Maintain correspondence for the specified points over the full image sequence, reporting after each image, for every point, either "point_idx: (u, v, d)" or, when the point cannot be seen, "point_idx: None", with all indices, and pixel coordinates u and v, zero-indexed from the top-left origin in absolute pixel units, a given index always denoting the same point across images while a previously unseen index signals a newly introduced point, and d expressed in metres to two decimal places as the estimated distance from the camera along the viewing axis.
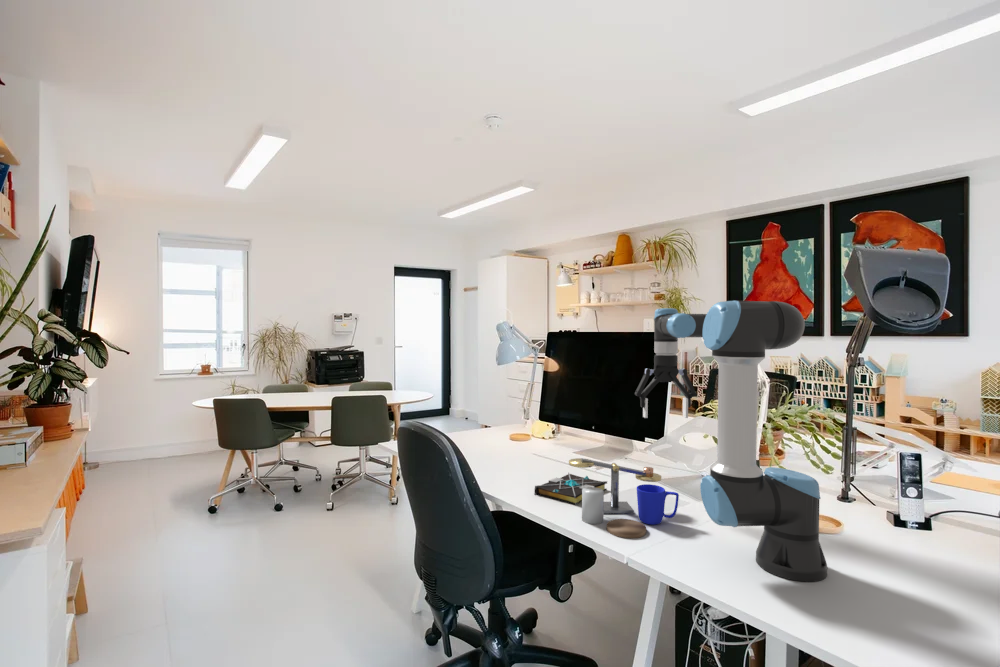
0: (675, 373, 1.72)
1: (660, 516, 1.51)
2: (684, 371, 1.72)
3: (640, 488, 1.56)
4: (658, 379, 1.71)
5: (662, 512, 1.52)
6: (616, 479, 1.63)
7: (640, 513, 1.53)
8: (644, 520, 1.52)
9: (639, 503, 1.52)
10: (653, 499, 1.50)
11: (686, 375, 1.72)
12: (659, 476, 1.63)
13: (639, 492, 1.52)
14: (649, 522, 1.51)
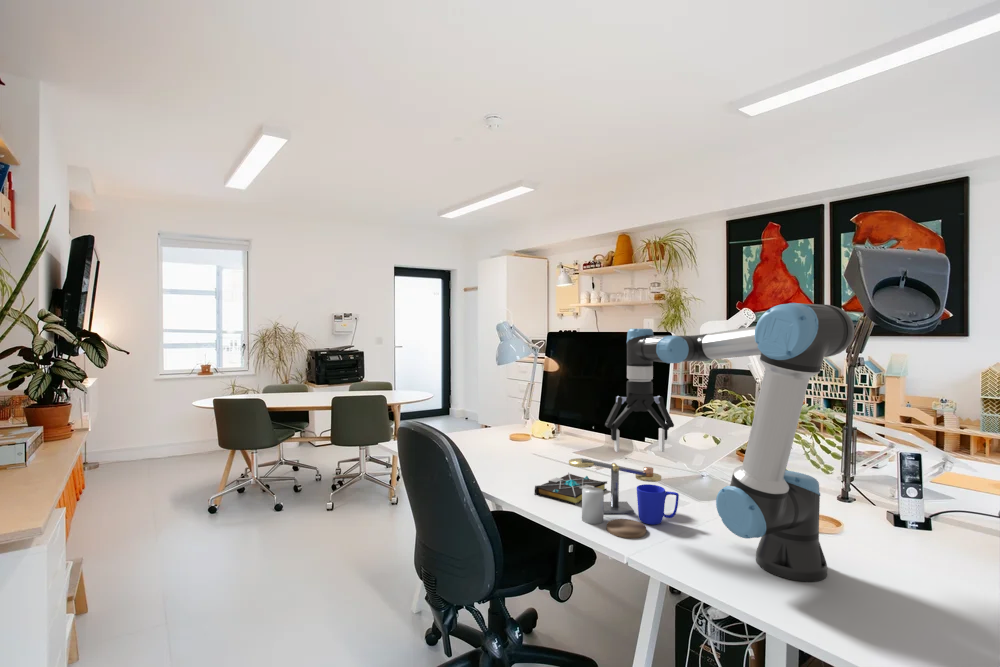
0: (650, 401, 1.52)
1: (660, 516, 1.51)
2: (660, 399, 1.52)
3: (640, 488, 1.56)
4: (631, 408, 1.51)
5: (662, 512, 1.52)
6: (616, 479, 1.63)
7: (640, 513, 1.53)
8: (644, 520, 1.52)
9: (639, 503, 1.52)
10: (653, 499, 1.50)
11: (662, 403, 1.52)
12: (659, 476, 1.63)
13: (639, 492, 1.52)
14: (649, 522, 1.51)
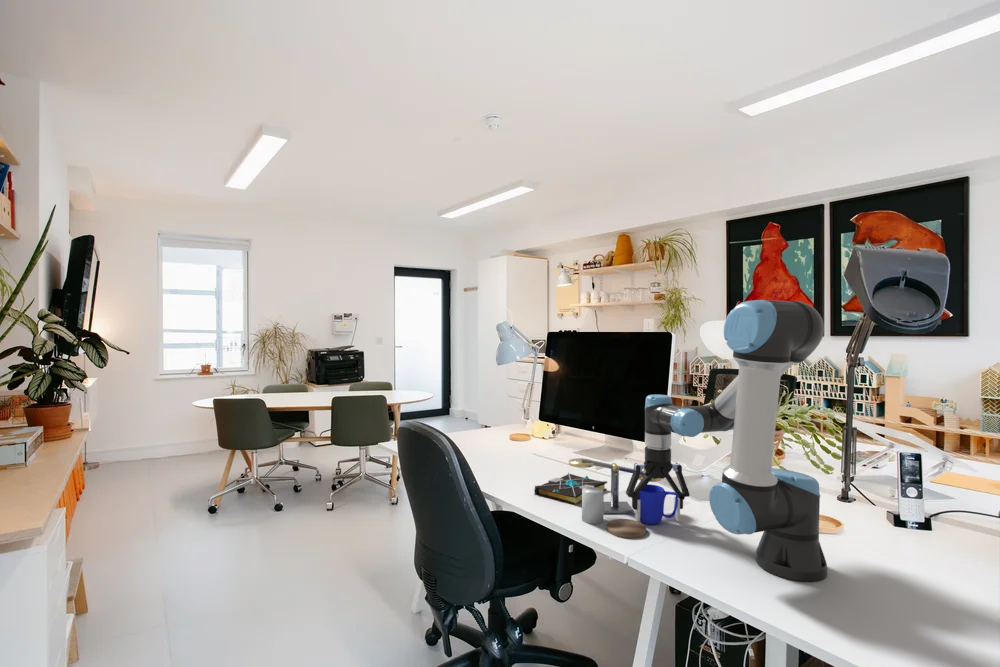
0: (668, 469, 1.52)
1: (659, 516, 1.51)
2: (678, 467, 1.52)
3: None
4: (650, 476, 1.51)
5: (661, 512, 1.52)
6: (616, 479, 1.63)
7: None
8: (643, 520, 1.52)
9: None
10: (652, 499, 1.50)
11: (680, 472, 1.52)
12: None
13: (639, 492, 1.52)
14: (648, 522, 1.51)
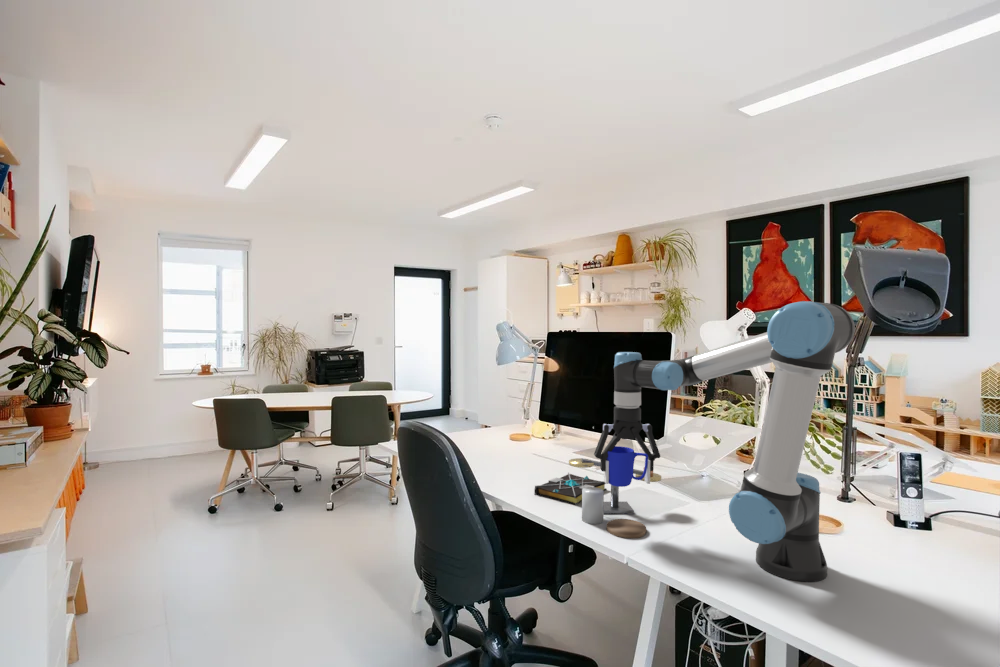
0: (638, 428, 1.46)
1: (628, 478, 1.45)
2: (649, 427, 1.46)
3: None
4: (619, 437, 1.45)
5: (631, 474, 1.45)
6: None
7: None
8: (612, 482, 1.45)
9: None
10: (621, 460, 1.43)
11: (650, 432, 1.46)
12: (659, 476, 1.63)
13: None
14: (617, 484, 1.44)
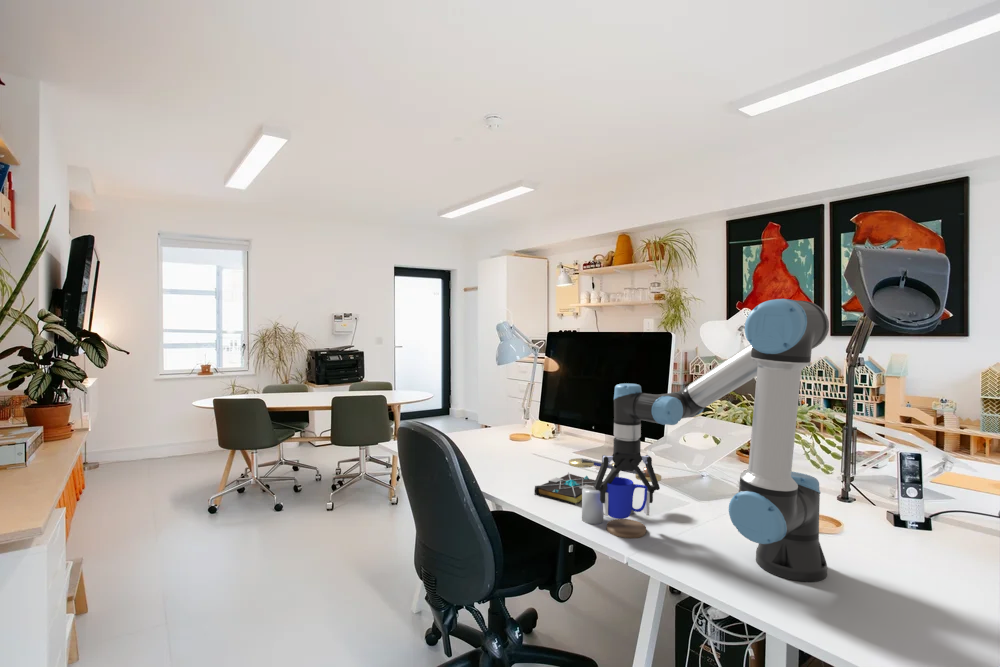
0: (637, 461, 1.46)
1: (628, 510, 1.45)
2: (648, 459, 1.46)
3: None
4: (618, 469, 1.45)
5: (630, 506, 1.45)
6: None
7: None
8: (611, 514, 1.45)
9: None
10: (620, 492, 1.44)
11: (650, 464, 1.46)
12: (659, 476, 1.63)
13: None
14: (616, 516, 1.45)
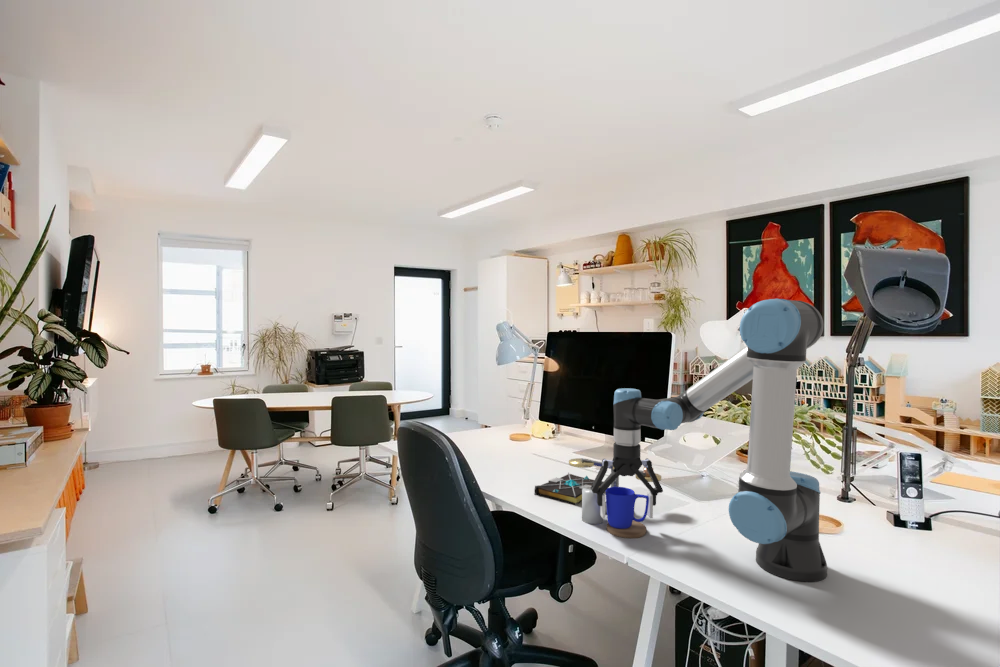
0: (638, 466, 1.46)
1: (629, 520, 1.45)
2: (648, 463, 1.46)
3: (609, 491, 1.50)
4: (617, 473, 1.45)
5: (631, 516, 1.45)
6: (616, 479, 1.63)
7: (609, 517, 1.46)
8: (612, 524, 1.45)
9: (608, 506, 1.46)
10: (621, 502, 1.43)
11: (651, 468, 1.46)
12: (659, 476, 1.63)
13: (608, 495, 1.46)
14: (618, 526, 1.44)
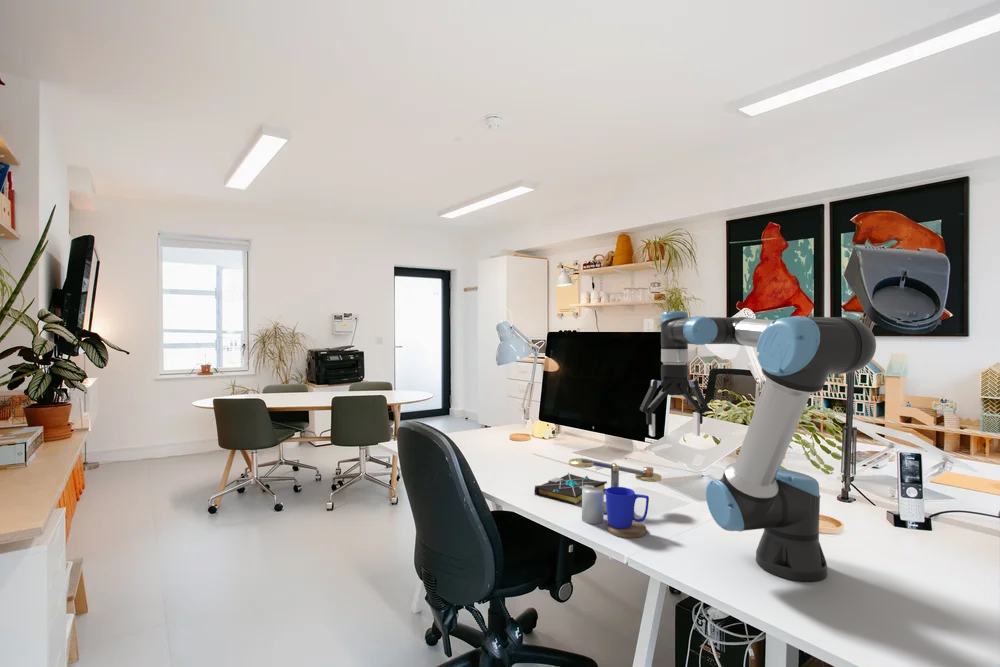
0: (685, 385, 1.51)
1: (629, 520, 1.45)
2: (695, 382, 1.51)
3: (609, 491, 1.50)
4: (666, 392, 1.50)
5: (631, 516, 1.45)
6: (616, 479, 1.63)
7: (609, 517, 1.46)
8: (612, 524, 1.45)
9: (608, 506, 1.46)
10: (621, 502, 1.43)
11: (697, 387, 1.51)
12: (659, 476, 1.63)
13: (608, 495, 1.46)
14: (618, 526, 1.44)
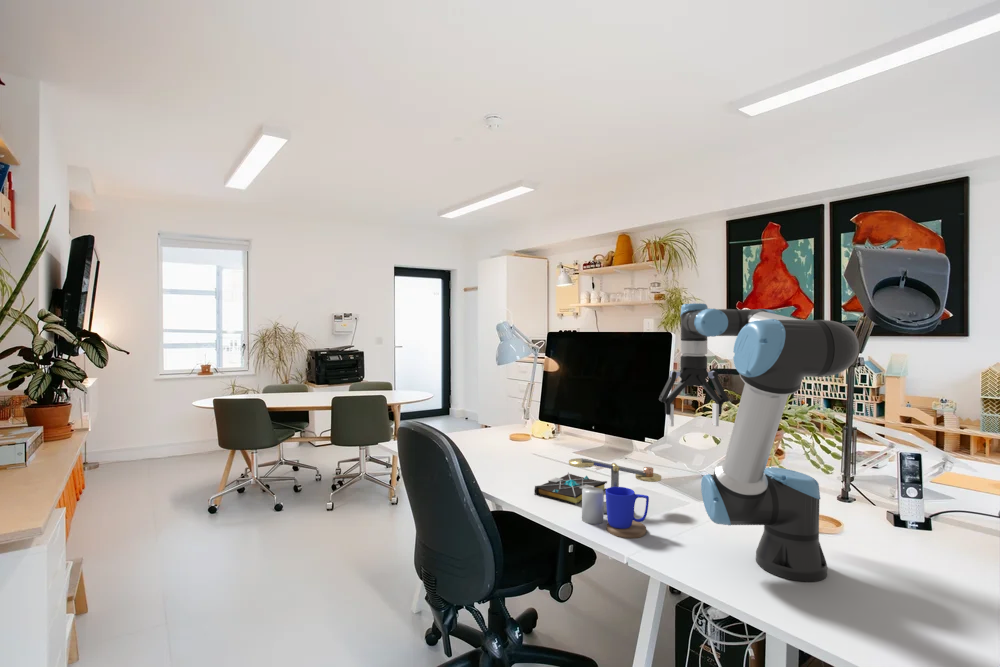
0: (704, 376, 1.53)
1: (629, 520, 1.45)
2: (714, 374, 1.53)
3: (609, 491, 1.50)
4: (685, 383, 1.52)
5: (631, 516, 1.45)
6: (616, 479, 1.63)
7: (609, 517, 1.46)
8: (612, 524, 1.45)
9: (608, 506, 1.46)
10: (621, 502, 1.43)
11: (717, 378, 1.53)
12: (659, 476, 1.63)
13: (608, 495, 1.46)
14: (618, 526, 1.44)
